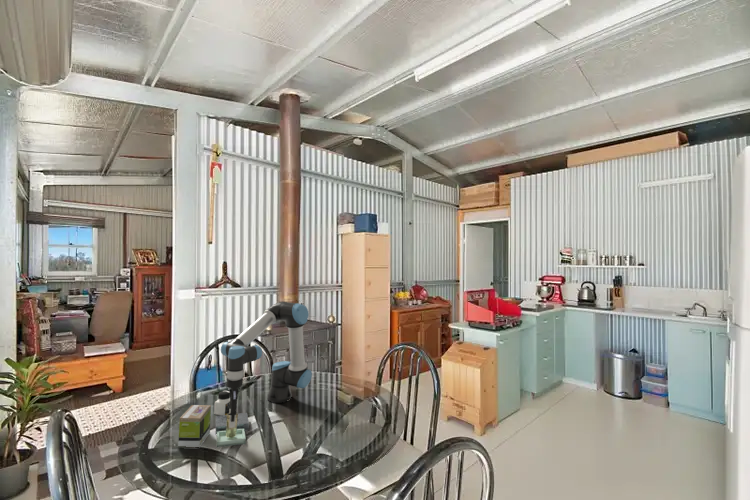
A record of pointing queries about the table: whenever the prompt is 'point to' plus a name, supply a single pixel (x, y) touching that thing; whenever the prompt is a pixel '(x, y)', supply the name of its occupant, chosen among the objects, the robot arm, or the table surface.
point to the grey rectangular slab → (241, 422)
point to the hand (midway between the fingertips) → (231, 424)
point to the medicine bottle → (222, 403)
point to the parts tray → (226, 441)
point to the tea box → (194, 426)
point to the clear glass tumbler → (231, 431)
